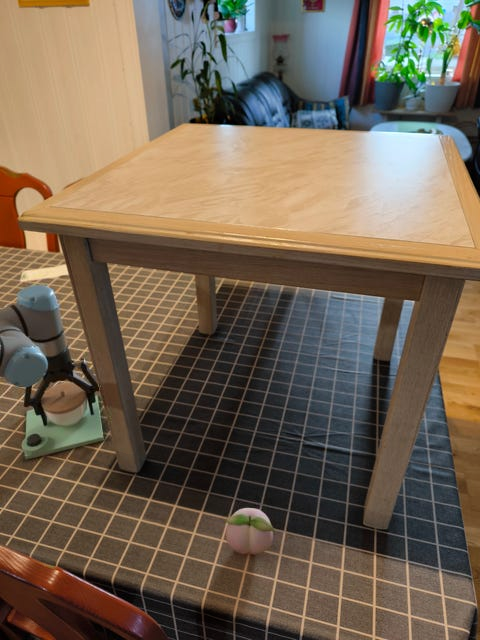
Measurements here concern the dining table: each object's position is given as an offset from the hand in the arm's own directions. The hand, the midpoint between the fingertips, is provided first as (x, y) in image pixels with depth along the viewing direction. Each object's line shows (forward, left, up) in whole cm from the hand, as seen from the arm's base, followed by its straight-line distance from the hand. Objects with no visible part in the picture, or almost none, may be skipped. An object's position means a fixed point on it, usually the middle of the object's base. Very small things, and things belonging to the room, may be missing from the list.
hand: (69, 416), depth 115 cm
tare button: (-8, -7, +1) cm, 11 cm away
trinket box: (0, 0, -1) cm, 1 cm away
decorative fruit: (+32, -47, -3) cm, 57 cm away
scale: (-2, -2, -2) cm, 3 cm away
